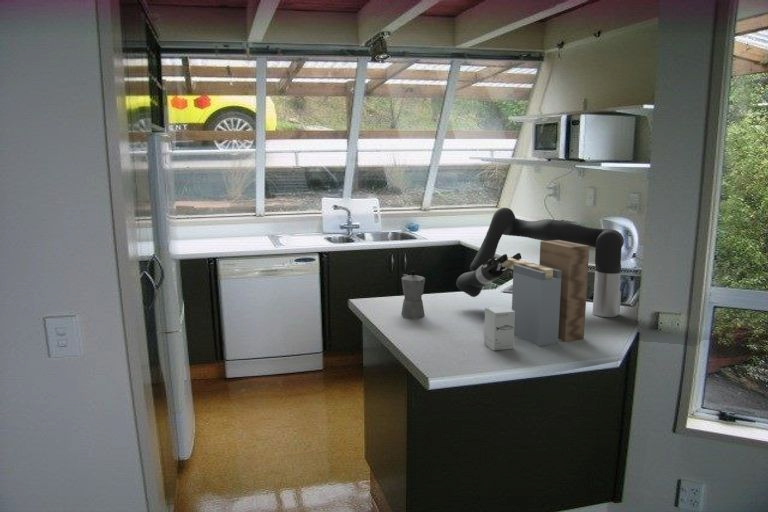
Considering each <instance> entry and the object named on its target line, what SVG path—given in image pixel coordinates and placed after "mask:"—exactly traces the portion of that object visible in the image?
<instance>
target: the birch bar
mask: <svg viewBox="0 0 768 512" xmlns="http://www.w3.org/2000/svg"><path fill="white" fill-rule="evenodd" d="M531 263H532V262H527V261H523V260H521V259H520V260H517V259H513V258H511V257H509V258H508V260H507V261H505V262H504V263H502V266H503V267H506V268H507V269H510V270H513V265H516V264H517V265H521V266H525V267H528V268H532V269H535V270H539V271H542V272H546V274H545V279H551V278H553V269H550V268H546V267H543V266H539V264H538V265H535V264H536V263H534V264H531Z"/></svg>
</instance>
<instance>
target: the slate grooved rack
mask: <svg viewBox="0 0 768 512" xmlns="http://www.w3.org/2000/svg"><path fill="white" fill-rule="evenodd" d="M530 263H531V264H535V265H539V264H537V263H533V262H530ZM539 266H542V265H539ZM543 267H546V266H543ZM546 268H549V267H546ZM550 269H553V268H550ZM512 270H513V273H512V291H511V292H512V295H511V310H513V311H515V326H514V336H516V337H518V338H520V339H522V340H525V341H527V342H529V343H530V344H533V345H535V346H537V347H541V346H543V347H544V346H549V345H553V344H558V343H559V339H558V332H559V313H560V294H561V275H562V271H561V270H557V269H553V278H551V279H545V274H546V272H542V271H539V270H535V269H532V268H528V267H525V266H521V265H517V264H516V265H513V269H512Z"/></svg>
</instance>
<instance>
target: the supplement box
mask: <svg viewBox="0 0 768 512" xmlns="http://www.w3.org/2000/svg"><path fill="white" fill-rule="evenodd" d="M514 326H515V311H513V310H512V308H509V307H507V306H505V305H503V306H491V307H484V328H483V329H484V331H483V344H484V345H485V346H486V347H488V348H489V349H490V350H492V351H499V350H500V351H501V350H502V351H503V350H511V349H512V350H513V349H514V346H515V345H514V343H515V335H514Z"/></svg>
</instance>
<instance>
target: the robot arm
mask: <svg viewBox="0 0 768 512" xmlns="http://www.w3.org/2000/svg"><path fill="white" fill-rule="evenodd" d="M502 236H510V237H511V236H512V237H521V238H528V239H532V240H539V241H551V240H562V241H567V242H572V243H577V244H583V245H588V246H589V248H594V249H595V250H594V251H595V253H594V266H595V269H594V270H595V271H594V285H593V301H592V314H593V315H595V316H597V317H602V318H616V317H617V316H620V315H621V314H620V313H621V303H622V302H621V300H622V290H620V288H621V272H622V248H623V246H624V244H625V238H624V236H623V234H622V233H621V232H620V231H618V230H616V229H608V228H596V227H595V228H594V227H588V226H584V225H579V224H575V223H571V222H568V221H562V220H556V219H549V218H547V219H539V220H533V221H532V220H524V219H520V218H516V216H515V213H514V212H513V210H512V209H510V208H509V207H500V208H499V209H497V210H496V211H495V212H494V213H493V216H492V218H491V222H490V224H489V227H488V230H487V232H486V234H485V237H484V239H483V241H482V243H481V246H480V247H479V249H478V251H477V253H476V254H475V256H474V259H472V262H471V263H470V265H469V270H471V271H468V272H464V273H462V274H460V275H459V276H458V278H457V279H456V282H455V284H456V287H457V289H458V290H460V291H462V292H464V293H465V294H466V295H468V296H470V297H472V298H475V297H478V296H479V295H480V294H481V292H482V290H483V287H485V286H486V285H488V284H490V283H492V282H495V281H496V280H497V279H499V278H500V277H502V276H503V275H504V272H505V271H506V270H507V269H508V268H506V267H503V266H502V263H504V262H505V261H507V260H508V258H513V259H517V260H520V261H521V259H522V254H521V253H520V252H518V253H516V254H514V255H513V256H509V257H508V254H507V253H504V254H502V255H501V256H499V257H497V258H496V257H495V255H496V252H497V249H498V246H499V243H500V240H501V238H502Z"/></svg>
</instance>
